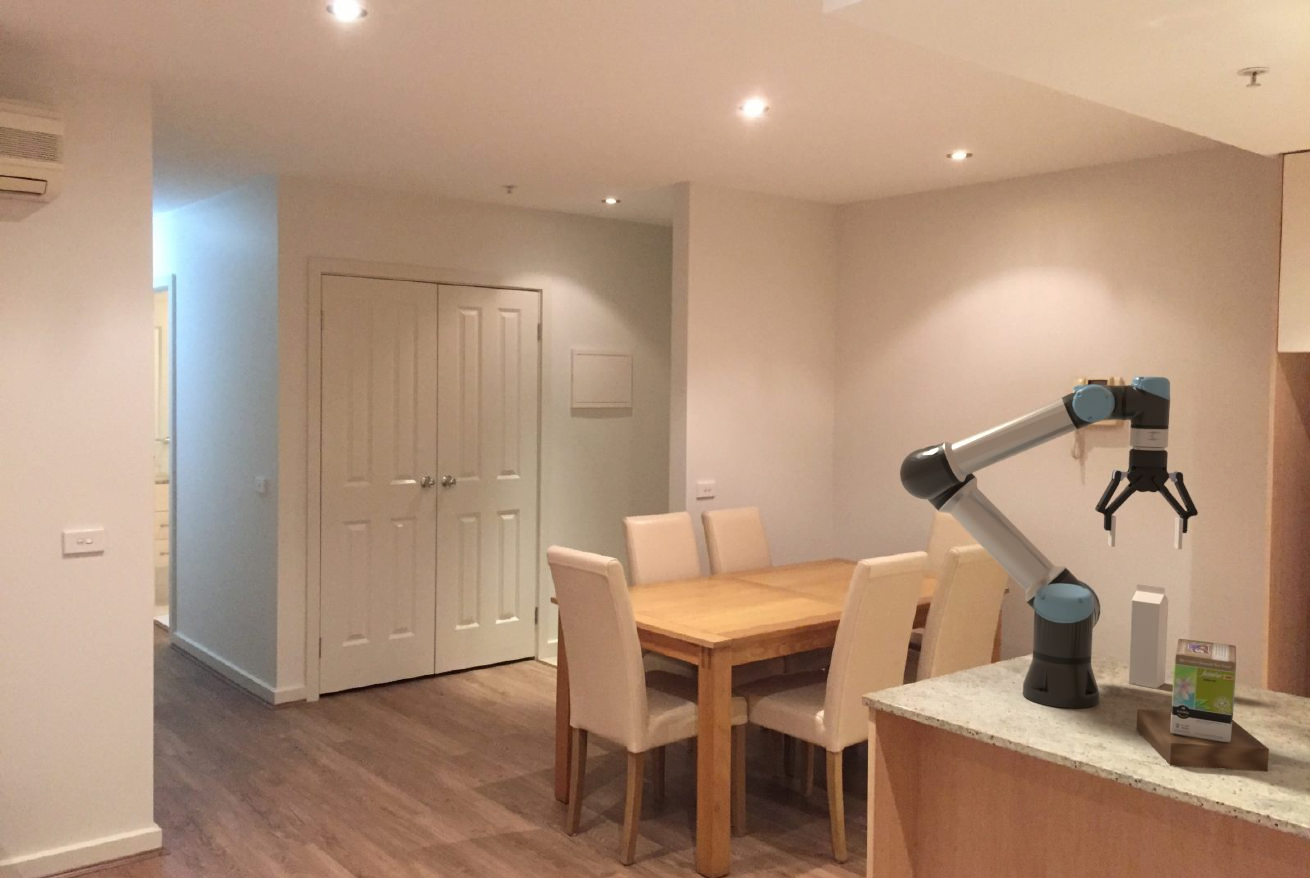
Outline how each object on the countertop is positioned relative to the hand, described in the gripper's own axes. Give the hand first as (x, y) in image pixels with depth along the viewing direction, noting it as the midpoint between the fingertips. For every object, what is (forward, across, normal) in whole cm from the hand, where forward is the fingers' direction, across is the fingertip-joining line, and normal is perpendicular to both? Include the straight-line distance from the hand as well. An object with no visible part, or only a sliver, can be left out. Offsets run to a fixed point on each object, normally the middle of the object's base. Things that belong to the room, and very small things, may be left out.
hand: (1144, 547), depth 233 cm
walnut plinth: (+32, 0, -37) cm, 49 cm away
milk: (+32, +4, +8) cm, 33 cm away
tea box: (+28, 0, -37) cm, 46 cm away
